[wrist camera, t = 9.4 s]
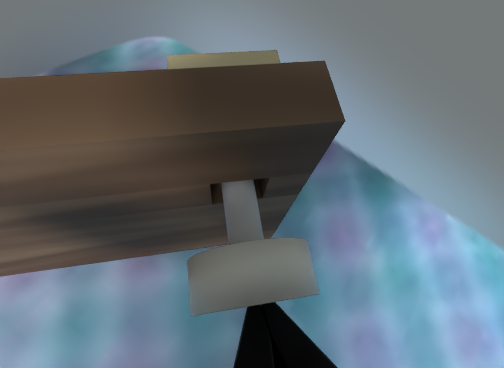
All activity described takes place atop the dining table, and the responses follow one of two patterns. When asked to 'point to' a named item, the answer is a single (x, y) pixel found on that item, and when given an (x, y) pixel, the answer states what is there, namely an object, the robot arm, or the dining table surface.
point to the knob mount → (152, 157)
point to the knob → (245, 234)
